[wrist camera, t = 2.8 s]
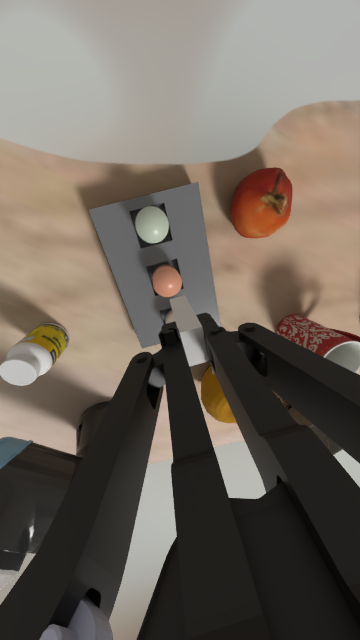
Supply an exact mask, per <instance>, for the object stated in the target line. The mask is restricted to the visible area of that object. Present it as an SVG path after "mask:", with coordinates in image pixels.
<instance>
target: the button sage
mask: <svg viewBox="0 0 360 640" xmlns="http://www.w3.org/2000/svg"><path fill="white" fill-rule="evenodd" d="M135 226H136V230H137V233H138V235H139V236H140V237H141V238H142V239H143V240H144V241H146V242H148V243H158V242H160V241H162V240H163V239H164V238H165V237H166V235H167V233H168V229H169V223H168V219H167V217H166V215H165V213H164V212H163V211H162V210H161V209H159V208H157V207H154V206H148V207H145V208H143V209H142V210H141V211H140V212H139V213H138V215H137V217H136V221H135Z"/></svg>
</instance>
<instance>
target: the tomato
mask: <svg viewBox="0 0 360 640" xmlns="http://www.w3.org/2000/svg"><path fill="white" fill-rule="evenodd" d="M291 203H292V184H291V182H290V180H289V179H288V178H287V176H286V174H285V173H284V171H283V170H282V169H280V168H266V169H261V170H257V171H255V172H253V173H251V174H250V175H248V176H247V177H245V178H244V179H243V180H242V181H241V182H240V184H239V185H238V186H237V187H236V190H235V193H234V195H233V199H232V203H231V208H230V215H231V221H232V223H233V225H234V228H235V230H236V231H237V232H238V233H239V234H240V235H241V236H243V237H246V238H264V237H268V236H270V235H271V234H273V233H274V232H276V231H277V230H278V229H280V228H281V227H282V226H284V225H285V224H286V222H287V221H288V219H289V216H290V212H291Z"/></svg>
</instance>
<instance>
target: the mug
mask: <svg viewBox="0 0 360 640" xmlns="http://www.w3.org/2000/svg"><path fill="white" fill-rule="evenodd" d="M276 334H278V335H280V336H282V337H284V338H286V339H288V340H290V341H292V342H294V343H296V344H298V345H300V346H302V347H304V348H306V349H308V350H310V351H312V352H314V353H316V354H318V355H320V356H322V357H324V358H326V359H328V360H330V361H332V362H334V363H336V364H338V365H340V366H342V367H344V368H346V369H348V370H350V371H352V372H354V373H356V372H357V371H358V370H359V369H360V337H359V336H356V335H354V334H351V333H348V332H344V331H339V330H335V329H329V328H326V327H324V326H322V325H320V324H318V323H316V322H313V321H311V320H309V319H307V318H305V317H303V316H301V315H297V314H294V315H290V316H288V317H286V318H284V319H283V320H282V321H281V322H280V323H279V325H278V327H277V330H276Z"/></svg>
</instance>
